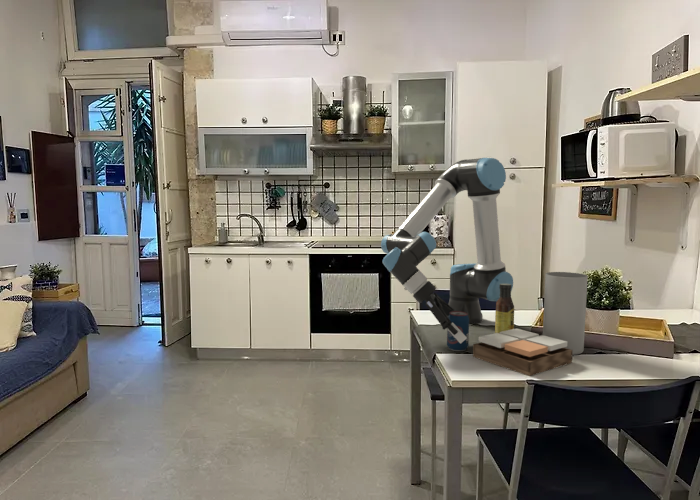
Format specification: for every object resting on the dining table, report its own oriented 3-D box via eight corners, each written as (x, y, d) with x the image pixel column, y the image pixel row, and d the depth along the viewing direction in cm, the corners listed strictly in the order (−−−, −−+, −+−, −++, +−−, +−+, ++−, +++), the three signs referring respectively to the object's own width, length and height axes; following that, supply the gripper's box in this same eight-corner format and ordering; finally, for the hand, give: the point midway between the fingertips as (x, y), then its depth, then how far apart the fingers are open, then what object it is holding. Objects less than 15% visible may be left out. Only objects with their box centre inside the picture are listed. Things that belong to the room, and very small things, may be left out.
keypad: (514, 346, 167) (515, 334, 167) (571, 362, 150) (572, 350, 150) (472, 356, 156) (473, 344, 155) (529, 376, 139) (530, 362, 138)
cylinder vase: (586, 348, 165) (590, 274, 162) (579, 358, 155) (583, 279, 152) (547, 342, 172) (550, 270, 169) (537, 351, 162) (541, 275, 159)
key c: (542, 339, 157) (542, 335, 157) (567, 346, 150) (567, 341, 150) (525, 344, 152) (525, 339, 152) (550, 351, 145) (550, 346, 145)
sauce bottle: (514, 343, 170) (516, 286, 168) (495, 342, 172) (497, 285, 170) (512, 338, 177) (514, 283, 175) (493, 337, 178) (495, 282, 176)
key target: (522, 344, 151) (522, 340, 151) (547, 351, 144) (547, 346, 144) (504, 349, 147) (504, 344, 146) (529, 356, 140) (529, 351, 139)
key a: (516, 332, 165) (516, 328, 165) (538, 338, 158) (538, 334, 158) (499, 336, 160) (499, 332, 160) (521, 342, 153) (521, 338, 153)
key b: (496, 337, 159) (496, 332, 159) (518, 343, 153) (519, 338, 152) (478, 341, 155) (478, 336, 155) (500, 348, 148) (500, 343, 148)
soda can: (443, 349, 163) (444, 313, 162) (451, 344, 169) (452, 309, 168) (463, 353, 159) (464, 316, 158) (471, 347, 165) (472, 312, 164)
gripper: (417, 288, 178) (458, 332, 176) (405, 302, 154) (453, 353, 152) (432, 274, 176) (474, 319, 174) (423, 286, 152) (472, 337, 150)
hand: (464, 335), depth 163 cm, fingers open, 13 cm apart
